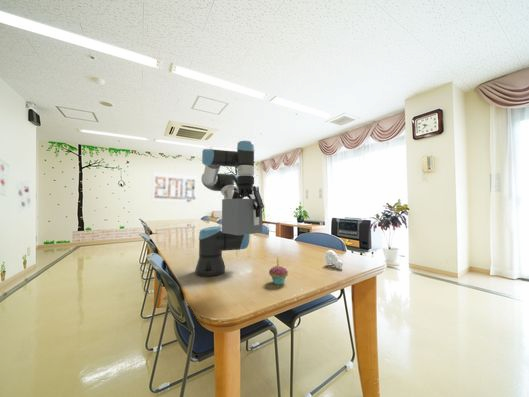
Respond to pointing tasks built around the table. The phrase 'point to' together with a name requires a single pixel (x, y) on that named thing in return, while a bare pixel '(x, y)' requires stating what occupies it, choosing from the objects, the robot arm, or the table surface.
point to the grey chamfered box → (239, 217)
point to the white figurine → (333, 259)
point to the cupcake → (278, 274)
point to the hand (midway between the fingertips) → (245, 224)
